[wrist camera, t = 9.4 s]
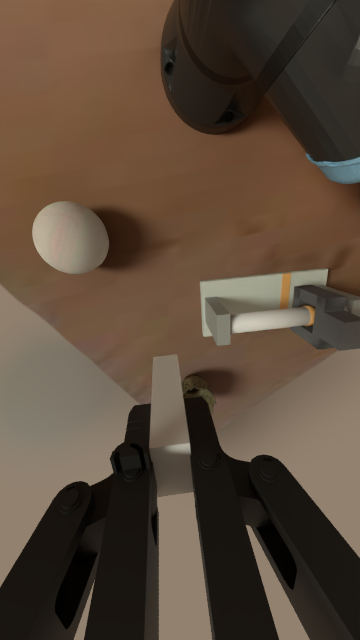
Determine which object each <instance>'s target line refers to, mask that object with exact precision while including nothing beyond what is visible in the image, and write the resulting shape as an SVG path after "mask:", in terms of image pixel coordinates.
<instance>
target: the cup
mask: <svg viewBox="0 0 360 640" xmlns="http://www.w3.org/2000/svg"><path fill="white" fill-rule="evenodd" d="M181 385H182V392H183V399H186V398H194V397H201V396H202V397H203V398H204V399H205V400H206V401H207V403H208V406H209V409H210V413H213V412H214V410H213V406H214V404H216V400H215V397H214V395H213V393H212V391H211V389H210V387H209V386H208V384H207V383H206V381H205V380H203V379H202V378H200V377H197V376H196V375H188V376H186V377H185V379H184V380H183V381H182V382H181Z"/></svg>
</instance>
